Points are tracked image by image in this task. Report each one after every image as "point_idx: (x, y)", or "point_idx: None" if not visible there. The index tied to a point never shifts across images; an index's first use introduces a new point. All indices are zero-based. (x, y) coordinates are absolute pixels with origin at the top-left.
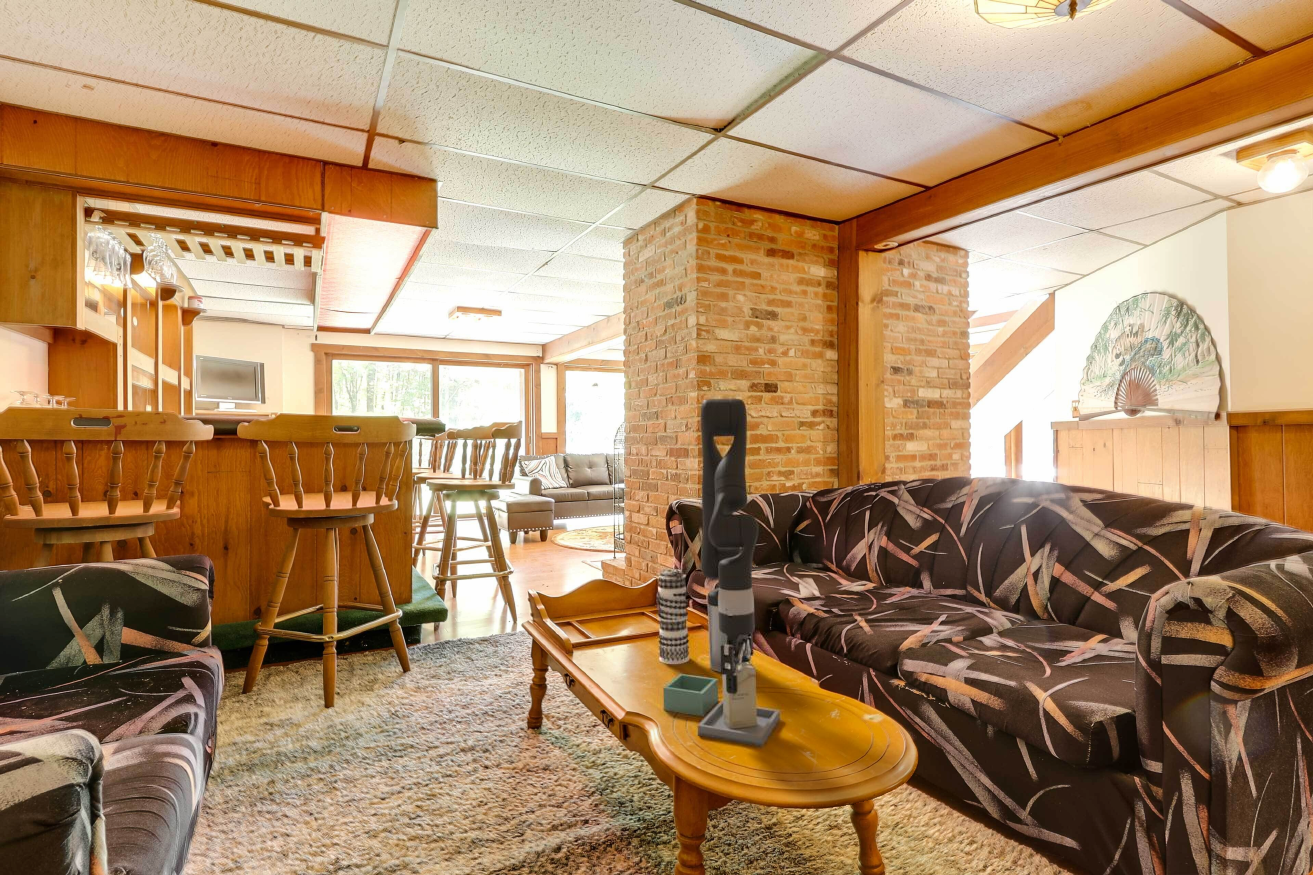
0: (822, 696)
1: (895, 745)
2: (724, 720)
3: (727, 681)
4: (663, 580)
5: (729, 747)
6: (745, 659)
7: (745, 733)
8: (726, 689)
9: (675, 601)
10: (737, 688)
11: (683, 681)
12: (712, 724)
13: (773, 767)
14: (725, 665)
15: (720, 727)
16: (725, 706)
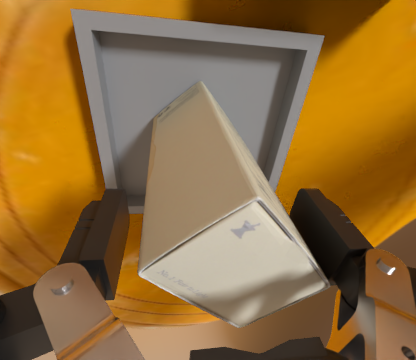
0: (377, 232)
1: (207, 317)
2: (190, 89)
3: (71, 242)
4: None
5: (68, 136)
6: (346, 286)
7: (106, 180)
8: (104, 193)
9: None
10: (125, 236)
11: None
12: (167, 47)
13: (45, 233)
14: (50, 331)
15: (157, 82)
16: (183, 114)
